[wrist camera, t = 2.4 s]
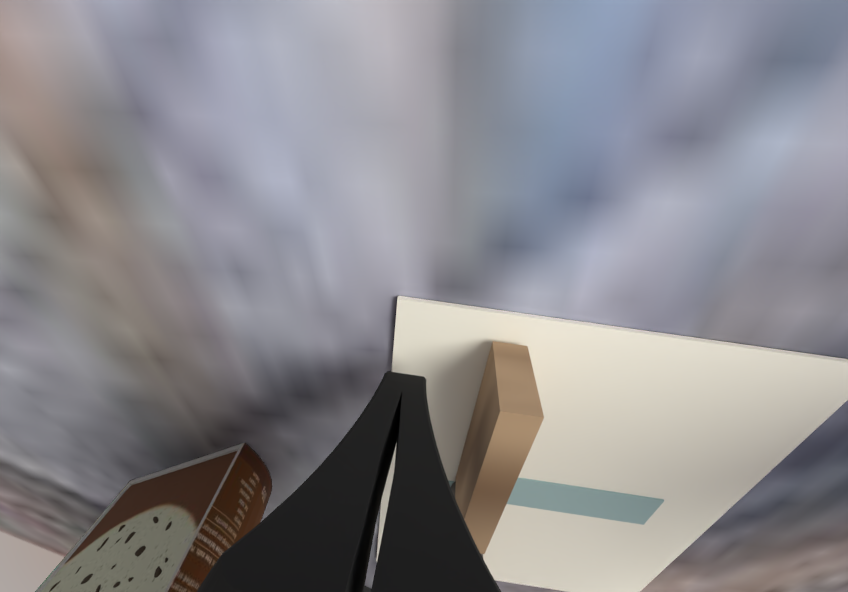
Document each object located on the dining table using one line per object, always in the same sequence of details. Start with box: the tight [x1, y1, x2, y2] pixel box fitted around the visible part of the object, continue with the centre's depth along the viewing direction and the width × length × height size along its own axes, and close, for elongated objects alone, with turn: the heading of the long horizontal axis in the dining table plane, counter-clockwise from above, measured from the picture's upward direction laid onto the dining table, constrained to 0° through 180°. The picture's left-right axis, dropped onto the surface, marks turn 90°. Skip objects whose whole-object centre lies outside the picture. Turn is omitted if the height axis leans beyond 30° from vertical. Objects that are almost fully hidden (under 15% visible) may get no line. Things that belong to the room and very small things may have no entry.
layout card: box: [376, 296, 848, 592], centre depth 17 cm, size 16×20×1 cm
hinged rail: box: [451, 341, 544, 558], centre depth 13 cm, size 10×1×4 cm, turn 174°
